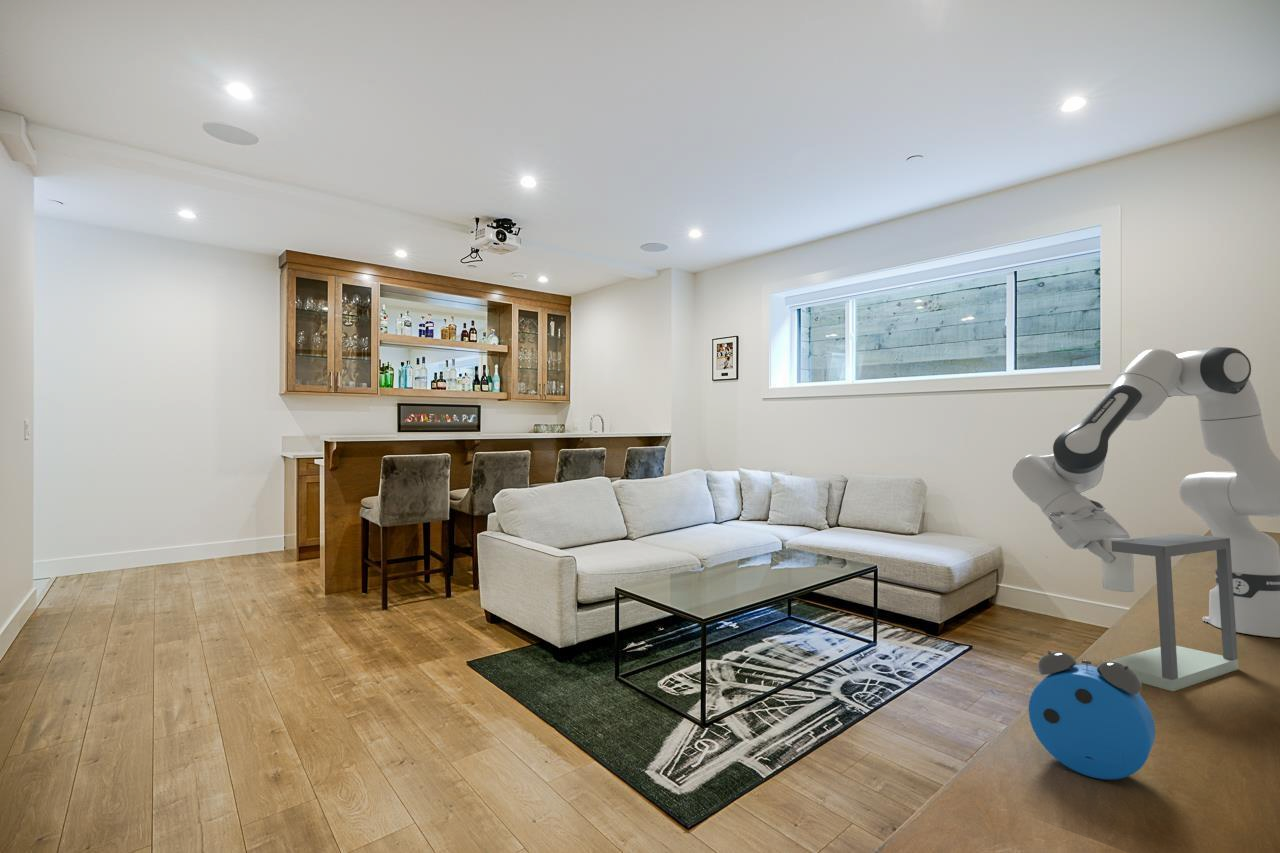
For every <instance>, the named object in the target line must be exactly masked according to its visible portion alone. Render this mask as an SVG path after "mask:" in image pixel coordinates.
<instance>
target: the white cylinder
mask: <svg viewBox="0 0 1280 853" xmlns="http://www.w3.org/2000/svg"><path fill="white" fill-rule="evenodd" d="M1117 540H1126V539H1123V538H1103V540H1102V541H1101V547H1102V548H1104V549H1105V550H1106V551H1107V552H1111V553H1112V554H1113V556H1115V557H1116V560H1114V561H1113V562H1112V563H1106V562H1105V561H1103V560H1102V559H1101V577H1102V578H1101V581H1102V582H1101V583H1102V589H1105V590H1109V591H1115V592H1123V593H1124V592H1125V593H1134V592H1135V590H1136V588H1135V566H1134V565H1135V564H1134V554H1130V553H1122V552H1113V551H1112V543H1111V541H1117Z"/></svg>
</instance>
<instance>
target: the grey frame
mask: <svg viewBox="0 0 1280 853" xmlns="http://www.w3.org/2000/svg"><path fill="white" fill-rule="evenodd" d="M1111 543H1112V551H1113V552H1122V553H1130V554H1133V555H1141V556H1150V557H1154V558H1155V571H1156V575H1155V576H1156V590H1157V610H1158V622H1159V623H1158V624H1159V625H1158V626H1159V627H1158V628H1159V639H1160V640H1159V641H1160V645H1159V646H1157V647H1154V648H1150V649H1147V650H1143V651H1140V652H1139V651H1138V652H1136V653H1132V654H1127V655H1125V656H1121V657H1116V658H1113V659H1110V660H1108V661H1112V662H1117V663H1120V664H1123V665H1125V666H1126V665H1127V666H1128V668H1130V669H1131V670H1132V671H1133V672H1134V673H1135V674H1136V675H1137V676H1138V677H1139V679H1140V681H1141V684H1144V685H1148V686H1152V687H1156V688H1159V689H1163V690H1167V691H1169V692H1175V691H1178V690H1183V689H1184V688H1188V687H1190V686H1193V685H1196V684H1199V683H1203V682H1205V681H1207V680H1211V679H1214V678H1217V677H1221V676H1223V675H1225V674H1229V673H1230V672H1231V673H1232V672H1234V671H1237V670H1239V660H1238V658H1239V657H1238V656H1239V654H1238V644H1237V643H1238V642H1237V641H1238V640H1237V632H1236V624H1235V609H1234V594H1233V578H1232V563H1231V548H1230V538H1223V537H1213V536H1210V535H1207V536H1206V535H1197V534H1183V533H1172V534H1165V535H1164V534H1162V535H1154V536H1147V537H1145V536H1144V537H1136V538H1129V539H1126V540H1117V541H1111ZM1212 551H1215V553H1217V556H1216V563H1217V564H1216V565H1217V566H1216V567H1217V568H1218V584H1219V599H1220V615H1221V628H1220V629H1221V631H1220V632H1221V644H1222V645H1221V646H1222V655H1221V654H1217V653H1213V652H1208V651H1205V650H1204V651H1203V650H1198V649H1194V648H1190V647H1185V646H1180V645H1177V643H1176V642H1177V641H1176V640H1177V638H1176V624H1175V622H1176V621H1175V608H1174V605H1175V603H1174V590H1173V589H1174V588H1173V587H1174V586H1173V575H1172V574H1173V572H1172V571H1173V570H1172V557H1177V556H1178V557H1179V556H1186V555H1192V554H1198V553H1205V552H1212ZM1217 568H1216V569H1217Z"/></svg>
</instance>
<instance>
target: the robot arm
mask: <svg viewBox="0 0 1280 853" xmlns="http://www.w3.org/2000/svg"><path fill="white" fill-rule="evenodd" d="M1251 373H1252V365H1251V361H1250V359H1249V357H1248V356H1247V355H1246V354H1245V353H1244V352H1242V351H1241V350H1240V349H1238V348H1236V347H1235V348H1234V347H1229V346H1228V347H1227V346H1226V347H1225V346H1224V347H1221V346H1220V347H1219V346H1217V347H1213V348H1207V349H1206V348H1205V349H1204V348H1202V349H1194V350H1187V351H1184V352H1181V353H1176V354H1175V353H1173V352H1171V351H1170V350H1167V349H1162V348H1160V349H1159V348H1152V349H1147V350H1145V351H1142V352H1141V353H1140V354H1138V355H1137V356H1136V357H1134V359H1132V360H1131V361H1130V362H1128V363H1127V365H1126V366H1125V367H1124V368H1123V369H1122V370H1121V371H1120V372H1119V374H1117V376H1116V377H1115V379H1114V380H1113V381H1112V382H1111V384H1110V385H1109V387H1108V389H1107V390H1106V392H1105V394H1104V396H1103V397H1102V398H1101V400H1099V402H1098V403H1096V405H1095V406H1094V407H1093V409H1091V410H1090V412H1089V413H1088V414H1087V415H1086V417H1084V418H1083V420H1081V422H1079V423H1078V424H1076V425H1075V426H1073V427H1071V428H1069V429H1067V430H1065V431H1063V432H1062V433H1061V434H1059V435H1058V436H1057V437H1056V438H1055V440H1054V442H1053V445H1052V452H1053V454H1049V455H1048V454H1047V455H1035V454H1028V455H1026V456H1024V457H1023V458H1021V459H1020V460H1019V461H1018V462H1017V463H1016V465H1015V466H1014V468H1013V470H1012V480H1013V481H1014V484H1016V486H1017V487H1018V489H1019V490H1020V492H1022V493H1023V494H1024V495H1025V496H1026V497H1027V498H1028V499H1029V500H1030V501H1031V502H1032V503H1035V505H1037V506H1038V507H1039V509H1041V510H1040V511H1042V513H1043V514H1044V516H1046V518H1048V520H1049V521H1050V522H1051V529H1053V530H1054V532H1055V533H1056V535H1058V536H1059V538H1060V539H1061V540H1062V541H1063V543H1065V544H1066V546H1068V547H1069V548H1071V549H1073V550H1083V549H1084V550H1085V549H1087V550H1088V551H1090V553H1092V554H1093V555H1095V556H1097V557H1098V558H1100V559H1101V561H1102V560H1103V561H1105V562H1106V563H1112V562H1113V561H1114V560H1116V557H1115V556H1113V554H1112V553H1111V552H1107V551H1106V550H1105V549H1104V548H1102V547H1101V541H1102V540H1103V538H1123V539H1131V536H1130V533H1128V531H1127V529H1126V528H1124V526H1123V525H1121V524H1120V523H1119V521H1118V520H1117V519H1115V517H1113V516H1112V515H1111V513H1109V512H1107V511H1105V510H1106V507H1105V506H1104V504H1102V503H1101V502H1099V501H1095V500H1092V499H1089V498H1088V497H1086V496H1084V495H1082V494H1081V493H1084V492H1086V491H1088V490H1091V489H1093V488H1095V487H1096V486H1098V484H1100V482H1101V481H1102V478H1103V473H1104V468H1105V464H1106V463H1105V462H1106V458H1107V455H1108V454H1107V453H1108V451H1109V449H1108V448H1109V440H1110V438H1111V437H1112V435H1113V434H1114V433H1115V432H1116V431H1117V430H1118V428H1120V426H1121V425H1122V423H1124V421H1125V420H1127V421H1141V420H1142V421H1143V420H1146V419H1148V418H1149V417H1150V416H1152V415H1153V414H1154V413H1155V412H1156V411H1157V410H1159V408H1160V407H1161V406H1162V405H1163V404H1164V402H1165V401H1166V400H1167V398H1172V397H1190V396H1195V397H1196V398H1197V399H1198V400H1197V401H1198V403H1197V404H1198V405H1197V408H1198V415H1199V422H1200V427H1201V428H1200V429H1201V434H1202V440H1203V445H1204V448H1205V449H1206V451H1208V453H1210V454H1211V455H1213V456H1216V457H1219V458H1221V459H1223V460H1225V461H1226V462H1227V463H1228V464H1230V466H1231V467H1232V469H1233V470H1234V471H1233V470H1232V471H1231V470H1230V471H1229V470H1228V471H1227V470H1226V471H1225V470H1224V471H1220V470H1219V471H1218V470H1212V471H1211V470H1210V471H1202V472H1195V473H1190V474H1187V475H1185V477H1184V478H1183V479H1182V480H1181V482H1180V484H1179V486H1178V487H1179V488H1178V495H1179V497H1180V500H1181V501H1182V503H1183V504H1184V505H1185V506H1186V508H1188V509H1191V510H1192V511H1193V512H1194V513H1196V514H1197V515H1198V516H1199V517H1200V518H1201V519H1202V520H1203V521H1204V523H1205V525H1206V526H1207V527H1208V528H1209V530H1210V533H1211V535H1212V537H1223V538H1230V548H1231V563H1232V578H1233V594H1234V609H1235V624H1236V633H1241V634H1245V635H1246V634H1247V635H1252V636H1261V637H1269V638H1280V546H1279V543H1278V542H1277V541H1276V540H1275V539H1274V538H1273V537H1272V536H1270V535H1269V534H1267V533H1265V532H1263V531H1261V530H1259V529H1257V528H1256V527H1255V525H1253V523H1252V522H1251V520H1250V518H1249V517H1265V518H1266V517H1267V518H1280V459H1279V458H1278V457H1277V455H1276V454H1275V452H1274V451H1273V450H1272V448H1271V446H1270V443H1269V441H1268V438H1267V435H1266V431H1265V426H1264V421H1263V416H1262V411H1261V406H1260V402H1259V398H1258V396H1257V393H1256V391H1255V388H1254V386H1253V384H1252V382H1251V380H1250V377H1251ZM1215 553H1216V552H1215ZM1215 555H1216V556H1215V557H1217V553H1216V554H1215ZM1214 571H1215V573H1214V578H1215V583H1216V584H1217V585H1216V586H1215V587H1214V588H1212V589H1210V590H1209V599H1208V600H1209V601H1208V602H1209V603H1208V604H1209V605H1208V615H1207V616H1206V615H1205V616H1203V617H1202V620H1203V622H1204V621H1205V623H1207V622H1208V624H1211V625H1212V626H1214V627H1216V628H1219V629H1221V615H1220V599H1219V584H1218V568H1216V569H1215V570H1214Z"/></svg>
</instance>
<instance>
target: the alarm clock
mask: <svg viewBox="0 0 1280 853" xmlns="http://www.w3.org/2000/svg"><path fill="white" fill-rule="evenodd" d="M1081 663H1082V664H1078V661H1077V660H1076V659H1075V658H1074V657H1073V656H1072V655H1071V654H1069V653H1067V652H1063V651H1052V652H1051V651H1050V650H1048V651H1047V653H1046V654H1044V655H1042V656H1041V657H1040V658H1039V660H1038V662H1037V670H1038V672H1039V674H1040V675H1042V676H1044V675H1046V676H1045V677H1044V678H1043V679H1042V680H1041V681H1040V682H1039V683H1038V684H1037V685H1036V686H1035V688H1034V689H1033V690H1032V692H1031V695H1030V697H1029V702H1028V717H1029V721H1030V725H1031V728H1032V729H1033V732H1034V734H1035V736H1036V737H1037V738H1036V739H1038V741H1039V742H1040V744H1041V745H1042V746H1043V747H1044V748H1045V750H1046V751H1047V752H1048V753H1049V754H1050V755H1051V756H1052V757H1053V758H1054V759H1056V760H1057V761H1058V762H1059V763H1060V764H1062V765H1064V766H1065V767H1067V768H1068V769H1070V770H1073V771H1074V772H1076V773H1079V774H1081V775H1083V776H1087V777H1090V778H1094V779H1098V780H1119V779H1120V780H1121V779H1124V778H1127V777H1129V776H1130V777H1131V775H1134V774H1135V773H1137V772H1138V771H1140V769H1141V768H1142V767H1143V766H1144V765H1145V764H1146V763H1147V760H1148V758H1149V756H1150V753H1151V750H1152V747H1153V745H1154V743H1155V737H1156V724H1155V720H1154V716H1153V715H1152V712H1151V709H1150V707H1149V706H1148V704H1147V702H1146V701H1145V699H1144V698H1143V696H1141V694H1140V693H1141V691H1142V686H1143V685H1142V684H1143V683H1141V681H1140V679H1139V677H1138V676H1137V675H1136V674H1135V673H1134V672H1133V671H1132V670H1131V669H1130V668H1128V666H1127V665H1126V666H1125V665H1123V664H1120V663H1117V662H1112V661H1109V660H1106V661H1103V662H1101V663H1099V664H1098V665H1097V666H1093V665H1092V661H1091V660H1085V659H1081Z"/></svg>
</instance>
